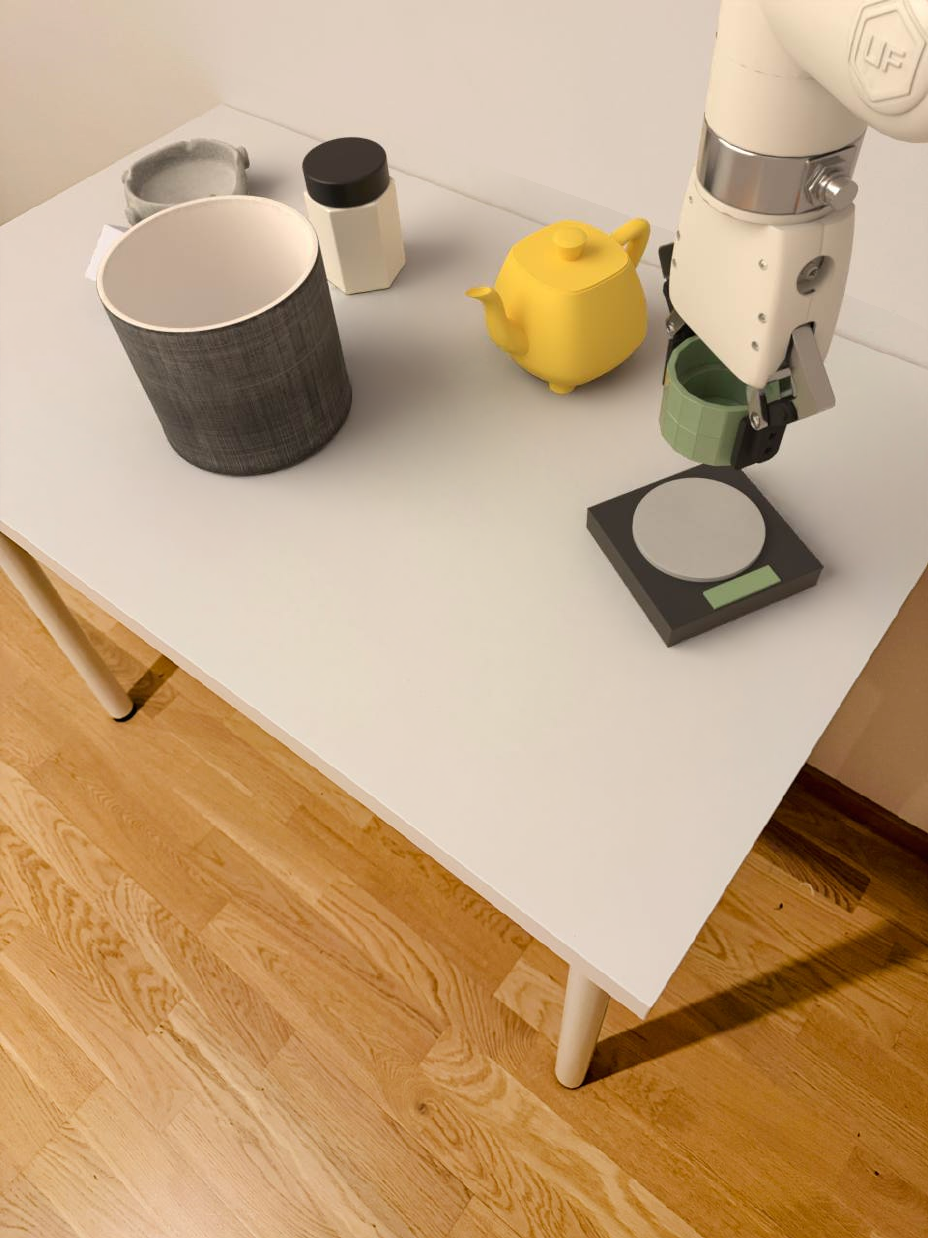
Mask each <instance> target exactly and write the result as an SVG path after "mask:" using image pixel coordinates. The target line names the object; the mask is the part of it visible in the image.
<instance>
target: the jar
mask: <svg viewBox="0 0 928 1238" xmlns="http://www.w3.org/2000/svg"><path fill="white" fill-rule="evenodd" d="M388 164H389V163H388V157H387V153H386V150H385V149H384V147H383V146H382V145H381V144H380V143H378V142H377V141H374V140H372V139H369V138H365V137H358V136H346V137H345V136H344V137H337V138H334V139H330V140H327V141H324V142H322V143H320V144H318V145H316V146H314V147H313V148H312V149H310V150H309V151H308V152H307V153H306V154H305V156H304V157H303V159H302V164H301V169H302V173H303V178H304V183H305V186H306V189H305V190H304V191H303V198H304V202H305V206H306V211H307V216H308V220H309V221H310V223H311V224H312V225H313V227H314V229H315V231H316V233H317V236H318V240H319V245H320V249H321V254H322V258H323V263H324V268H325V272H326V277H327V281H328V282H330V283H331V284H332V285H333V286H335V287H336V288H337V289H338V290H340V291H341V292H342V293H344V294H345V295H352V294H358V293H359V294H360V293H365V292H371V291H379V290H384V289H389V288H390V287H391V285H392V284H393V283H394V281H395V279H396V278H397V276H398V275H399V273H400V272H401V271H402V269H403V267H404V265H405V264H406V261H407V260H406V253H405V245H404V239H403V232H402V231H403V230H402V223H401V217H400V210H399V201H398V195H397V187H396V180H395V178H394V177H393V176H391V175H390V171H389V165H388Z"/></svg>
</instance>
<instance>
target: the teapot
mask: <svg viewBox="0 0 928 1238" xmlns="http://www.w3.org/2000/svg"><path fill="white" fill-rule="evenodd" d="M650 235H651V224H650V222H649V221H648V220H647V219H646V218H643V217H637V218H632V219H631V220H629V221H627V222H626V223H624V224H622V225H621V226H619V227H618V228H617V229H616V230H614V231H613V232H611V234H608V233H606V232H604V231H603V230H601V229H599V228H597V227H595V226H594V225H593V226H592V225H590V224H589V223H585V222H582V221H578V220H572V219H564V220H561V221H557V222H554V223H551V224H549V225H547V226H544V227H542V228H540V229H538V230H536V231H533V233H530V234H529V235H527V236H525V237H524V238H522V239H520V240H519V241H518V242H516V243H515V244H513V246H511V249H510V250H509V251H508V253H507V255H506V258H505V259H504V262H503V264H502V266H501V268H500V270H499V272H498V274H497V278H496V280H495V282H494V286H493V288H492V287H491V286H490V287H489V286H475V287H472V288H469V289H467V290H466V291H465V292H464V294H465V295H466V297H468V298H472V299H474V300H478V301H480V302H481V304H482V305H483V310H484V317H485V319H484V320H485V326H486V330H487V333H488V335H489V337H490V339H491V341H492V342H493V343H494V344H495V345H496V347H498V348H499V349H500V350H502V351H503V352H505V353H507V354H508V356H509V357H510V358H511V359H512V360H513V361H514V362H515V363H516V364H517V365H518V366H519V367H521V368H522V369H523V370H525V371H526V372H528V373H530V375H533V376H535V377H537V378H538V379H540V380H542V381H545V382H547V383H548V387H549V390H550V391H552V392H553V393H555V394H558V395H566V394H569V393H571V392H573V391H574V390H575V388H576V387H577V386H581V385H584V384H586V383H589V382H592V381H593V380H596V379H598V378H600V377H601V376H603V375H605V374H608V372H610V371H612V370H613V369H615V368H616V367H618V366H619V365H621V364H622V363H623V362H625V361H626V360H627V359H628V358H629V357H630V356H631V355H632V354H633V353H635V352H636V351H637V350H638V348H639V347H640V346H641V344H642V343H643V342H644V340H645V337H646V335H647V330H648V309H647V307H648V306H647V301H646V296H645V292H644V289H643V286H642V283H641V279H640V277H639V275H638V272H637V267H638V266H639V264H640V261H641V259H642V257H643V255H644V253H645V251H646V249H647V245H648V242H649V240H650V239H649V238H650ZM625 245H626V246H625ZM624 246H625V248H624Z"/></svg>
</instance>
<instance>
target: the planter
mask: <svg viewBox="0 0 928 1238" xmlns="http://www.w3.org/2000/svg"><path fill="white" fill-rule="evenodd" d="M129 228H130V229H129V230H128V231H126V232H125V233H124V234H123V235H122V236H120V237H119V238H118V239H117V240H116V241H115V242H114V243H113V245H112V246H111V247H110V248H109V250H108V251H107V252H106V254H105V255H104V257H103V259H102V261H101V263H100V266H99V268H98V272H97V278H96V282H95V283H96V285H95V286H96V291H97V295H98V297H99V299H100V301H101V303H102V306H103V308H104V310H105V312H106V314H107V317H108V319H109V320H110V322H111V324H112V327H113V329H114V331H115V332H116V333H115V334H116V335H117V337H118V339H119V341H120V343H121V345H122V347H123V349H124V352H125V353H126V356H127V358H128V360H129V361H130V364H131V365H132V368H133V370H134V372H135V374H136V376H137V378H138V380H139V382H140V385H141V387H142V389H143V390H144V393H145V394H146V396H147V398H148V401H149V403H150V404H151V406H152V409H153V410H154V413H155V414H156V417H157V420H158V421H159V423H160V425H161V428H162V430H163V433H164V435H165V437H166V440H167V442H168V443H169V445H170V447H171V449H173V450H174V451H175V453H176V454H177V455H178V456H179V457H180V458H182V459H183V460H184V461H185V462H187V463H189V464H191V465H193V466H194V467H196V468H198V469H201V470H203V471H206V472H211V473H213V474H219V475H226V476H251V475H260V474H261V475H262V474H264V473H270V472H274V471H275V472H276V471H278V470H281V469H284V468H288V467H290V466H292V465H295V464H296V463H299V462H301V461H303V460H305V459H307V458H309V457H310V456H312V455H314V454H315V453H316V452H318V451H319V450H320V449H322V448H323V447H324V446H326V445H327V444H328V443H329V442H330V441H331V440H332V439H333V438H334V437H335V436H336V435H337V433H338V432H339V431H340V429H342V427H343V425H344V423H345V421H346V420H347V418H348V415H349V413H350V411H351V406H352V400H353V389H352V384H351V380H350V375H349V373H348V369H347V365H346V360H345V355H344V352H343V347H342V341H341V337H340V333H339V328H338V324H337V318H336V314H335V309H334V305H333V300H332V295H331V291H330V287H329V280H327V277H326V272H325V268H324V263H323V258H322V254H321V249H320V245H319V240H318V236H317V233H316V231H315V229H314V227H313V225H312V224H311V223H310V220H309V218H307V217H306V216H305V215H304V214H303V213H301V211H299V210H297V209H295V208H294V207H292V206H290V205H288V204H286V203H284V202H281V201H278V200H275V199H271V198H267V197H262V196H256V195H248V196H246V195H226V196H214V197H207V198H202V199H197V200H192V201H188V202H185V203H181V204H178V205H175V206H172V207H170V208H167V209H164V210H162V211H160V212H158V213H155V214H153V215H151V216H149V217H148V218H146V219H144V220H142V221H141V222H139V223H137V224H136V225H134V226H133V227H132V226H131V227H129Z"/></svg>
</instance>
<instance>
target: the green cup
mask: <svg viewBox="0 0 928 1238" xmlns="http://www.w3.org/2000/svg"><path fill="white" fill-rule="evenodd" d="M765 388H766V397H767V403H770V402H772V401H775V400H778V399H780V389H779V380H777V381H775V382H772V383H770V384H767V385H766V386H765ZM660 405H661V406H660V410H659V411H660V412H659V417H658V422H659V428H660V432H661V433H660V434H661V436H662V438H663V439H664V440H665V441H666V443H667V444H668V445H669V446H670V447H671V449H672V450H673V451H674V452H675V453H678V454H680V455H681V456H682V457H684V458H686V459H688V460H690V461H692V462H694V463H698V464H699V463H700V464H707V465H712V466H727V465H731V464H730V462H731V461H730V459H731V455H732V451H733V447H734V443H735V438H736V434H737V430H738V426H739V422H740V420H741V419H742V418H744V417H746V416H748V415H749V413H748V405H747V396H746V388H745V383H744V382H743V381H741V380H740V379H739V378H738V377H737V376H736V375H735V374H733V373H732V372H731V370H730V369H729V368H728V367H727V366H726V365H725V364H724V363H723V362H722V361H721V360H720V359H719V358H718V357H717V356H716V355H715V354H714V353H713V352H712V351H711V349H710V348H709V347H708V346H707V345H706V344H705V343H704V342H703V341H702V340H701V339H700V338H699V337H698V335H695V336H692V337H690V338H687V339H686V340H685V341H683V342H682V343H681V344H680V345H679V346H678V347H676V348H675V349H674V350H673V352H672V354H671V357H670V359H669V362H668V364H667V370H666V377H665V383H664V386H663V391H662V398H661V404H660Z"/></svg>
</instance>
